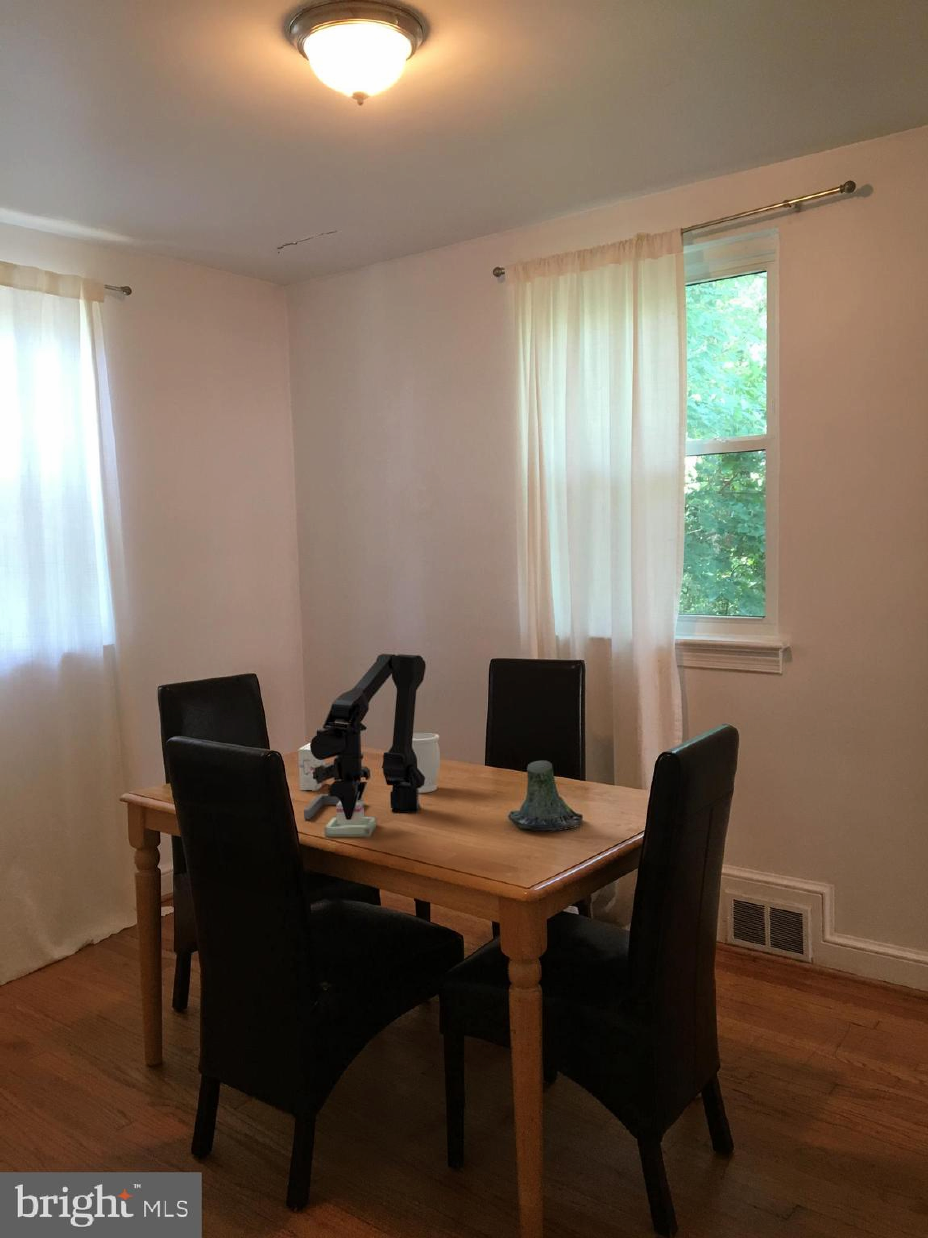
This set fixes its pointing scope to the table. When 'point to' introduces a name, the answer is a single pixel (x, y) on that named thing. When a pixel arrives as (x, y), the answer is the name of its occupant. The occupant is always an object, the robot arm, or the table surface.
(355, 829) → the tray
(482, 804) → the table surface
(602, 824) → the table surface
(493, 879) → the table surface
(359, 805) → the white striped box
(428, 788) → the jar
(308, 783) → the ink cartridge box
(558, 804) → the tree stump
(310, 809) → the bay
